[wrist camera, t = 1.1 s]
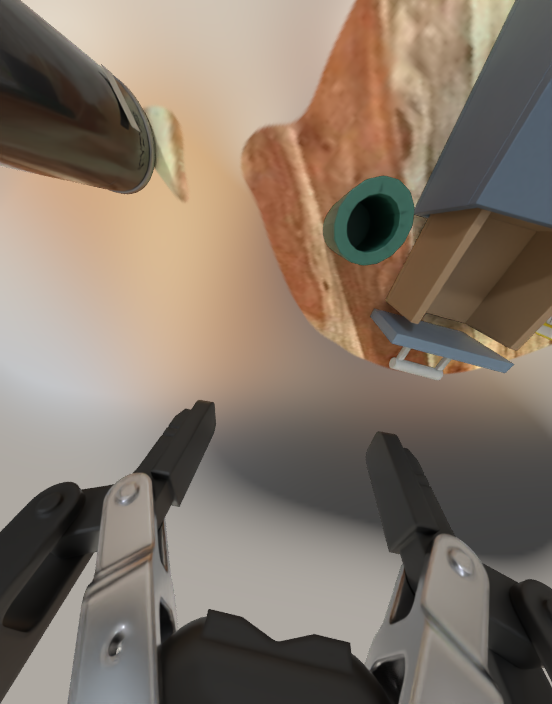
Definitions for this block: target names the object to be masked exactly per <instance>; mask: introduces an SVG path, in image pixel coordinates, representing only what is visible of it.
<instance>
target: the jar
mask: <svg viewBox="0 0 552 704" xmlns="http://www.w3.org/2000/svg"><path fill="white" fill-rule="evenodd" d="M414 210H415V208H414V204H413V200H412V196H411V192H410V191H409V190H408V189H407V187H406V186H405V185H404V184H403V183H402V182H401V181H399V180H398V179H395V178H391V177H388V176H379V177H375V178H370V179H367V180H365V181H363V182H362V183H361V184H359V185H358V186H356V187H355V188H353V189H352V190H351V191H350V192H348V193H347V194H346V195H345V196H344V197H343V198H341V199H340V200H339V201H338V202H337V203H336V204H334V205H333V207H332V208H331V209H330V210H329V212H328V214H327V215H326V218H325V221H324V224H323V236H324V240H325V242H326V244H327V246H328V247H329V248H330V249H331V250H333V251H334V252H335V253H337V254H338V255H340V256H341V257H343V258H344V259H346V260H348V261H349V262H351V263H355V264H359V265H371V264H377V263H379V262H381V261H383V260H385V259H386V258H388V257H390V256H391V255H393V254H394V253H395V252H396V251H397V250H398V248H399V247H400V246H401V245H402V244H403V243H404V242H405V240H406V238H407V236H408V234H409V232H410V230H411V228H412V224H413V217H414Z"/></svg>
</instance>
